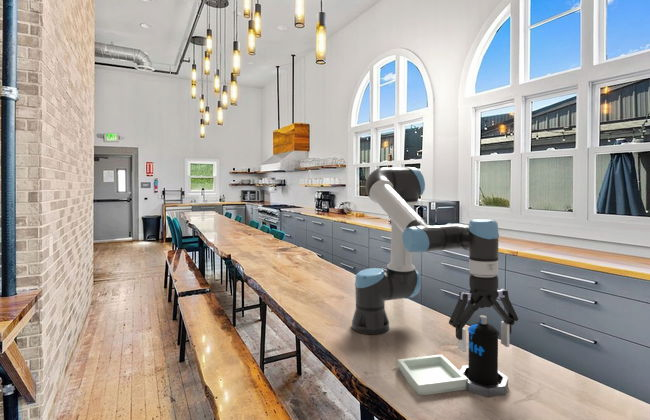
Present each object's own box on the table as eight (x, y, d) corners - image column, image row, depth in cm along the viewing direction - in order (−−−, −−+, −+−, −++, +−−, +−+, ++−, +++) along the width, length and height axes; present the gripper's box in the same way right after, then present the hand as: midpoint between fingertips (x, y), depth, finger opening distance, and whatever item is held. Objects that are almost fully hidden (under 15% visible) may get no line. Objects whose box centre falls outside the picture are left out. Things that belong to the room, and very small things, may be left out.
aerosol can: (489, 375, 108) (490, 310, 107) (504, 391, 100) (505, 321, 99) (462, 376, 108) (463, 311, 107) (475, 392, 100) (475, 322, 98)
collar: (451, 375, 109) (451, 367, 109) (488, 370, 111) (488, 362, 111) (475, 399, 97) (475, 390, 97) (516, 393, 99) (517, 384, 99)
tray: (397, 368, 114) (397, 359, 113) (441, 363, 116) (441, 354, 116) (418, 395, 99) (418, 385, 99) (468, 389, 102) (468, 378, 101)
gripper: (449, 280, 96) (450, 358, 97) (532, 274, 100) (532, 348, 101) (436, 274, 103) (436, 346, 104) (513, 268, 108) (513, 337, 109)
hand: (483, 347), depth 103 cm, fingers open, 13 cm apart
